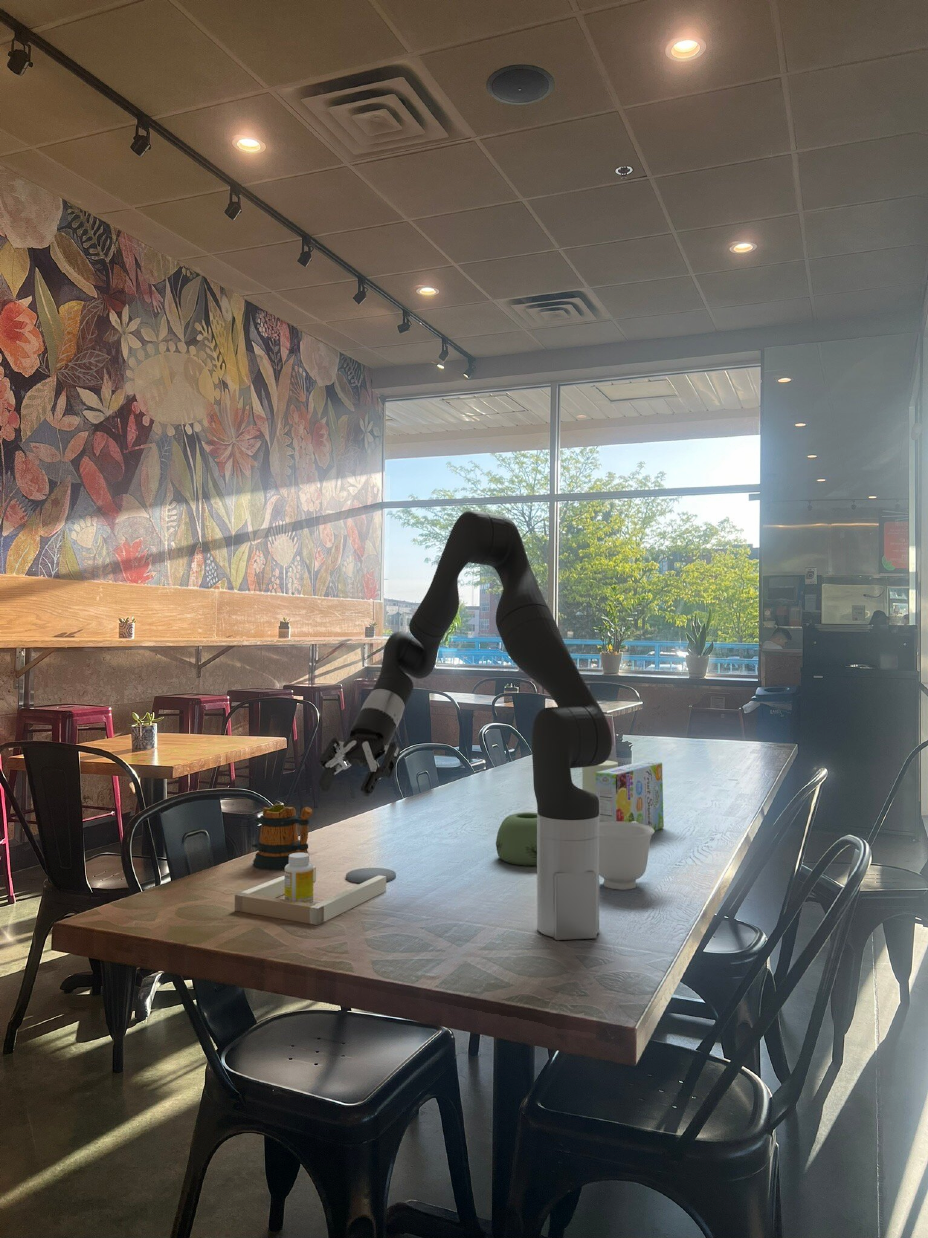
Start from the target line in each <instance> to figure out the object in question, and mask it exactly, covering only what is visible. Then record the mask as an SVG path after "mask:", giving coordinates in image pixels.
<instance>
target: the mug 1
mask: <svg viewBox="0 0 928 1238" xmlns="http://www.w3.org/2000/svg"><path fill="white" fill-rule="evenodd" d="M311 815H313V809H312V808H311V807H309V806H305V807H303V808H302V810H301V813H300V816H299V815H297V814H296V808H295V807H293V806H285V804H281V803H276V804H273V805H272V807H268V806H267V807H265V806H264V807H263V810H262V814H261V815H260V816H259V817H257V818H254V819H253V821H254V822H258V824H260V833H259V840H258V842H257V843H254V844H251V847H253V848H256V850H257V852H256V853H255V856H254V857H255V858H254V859H253V861H252V864H253V867H254V868H255V869H258V870H263V871H285V866H286V865H287V864H289V855H290V854H293V853H308V854H309V855H310V853H309V851H308V849H309V843H307V842H308V837H309V825H310V819H309V817H311ZM298 824H299V825H300V833H298Z"/></svg>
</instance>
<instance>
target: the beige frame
mask: <svg viewBox="0 0 928 1238" xmlns="http://www.w3.org/2000/svg"><path fill="white" fill-rule="evenodd" d="M316 881H317V866H315V865H313V883H314V882H316ZM385 892H387V882H386V876H380V875H378V876H376V877H374V878H372V879H370V880H367V881H365V882H363V883H361V884H360V883H358V884H357V885H355V886H353V887H350V888H348V889H346V890H344V891H342V892H340V893H337V894H335V895H333V896H330V897H329V898H326V899H325V900H322V901H319V902H318V903H316V904H315V903H313V904H310V903H304V902H297V901H291V900H285V898H279V897H280V896H281V897H282V896H283V895H285V874H284V875H282V876H279V877H276V878H274V879H272V880H269V881H266V882H264V883H261V884H259V885H256V886H254V887H251V888H249V889H245V890H243V891H240V892H238V893H236V894H234V911H235V912H241V913H247V914H252V915H257V916H262V917H263V916H264V917H269V918H274V919H275V918H276V919H280V920H281V919H282V920H287V921H292V922H297V923H298V922H299V923H302V924H303V923H304V924H308V925H309V924H310V925H316V926H319V925H321V924H323V923H325V922H327V921H330V920H331V919H333V918H335V917H336V916H339V915H341V914H343V913H345V912H347V911H349V910H351V909H352V908H355V907H357V906H359V905H361V904H363V903H365V902H367V901H369V900H371V899H373V898H375V897H377V896H379V895H381V894H383V893H385Z"/></svg>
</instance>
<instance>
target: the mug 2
mask: <svg viewBox="0 0 928 1238" xmlns="http://www.w3.org/2000/svg"><path fill="white" fill-rule="evenodd" d="M495 847H496V852H497V856H498V857H499V859H501V860H502V861H504V862H506V863H508V864H512V865H517V866H526V867H527V866H529V867H530V866H531V867H532V866H537V812H527V811H526V812H518V813H514V814H513V813H512V814H509V815H508V816H506V817H505V818H504V819H503V820H502V821H501V824H500V826H499V827H498V831H497V835H496V839H495Z"/></svg>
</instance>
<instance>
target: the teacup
mask: <svg viewBox="0 0 928 1238" xmlns="http://www.w3.org/2000/svg"><path fill="white" fill-rule="evenodd" d="M655 832H656V830H655V831H654V829H653V828H652V827H650V826H647V825H644V824H639V823H638V822H635V821H633V822H621V821H607V822H599V877H601V878H602V879H603V883H602V884H603V886H604V887H606V888H608V889H611V890H621V891H628V890H632V889H635V888H637V880H639V879H640V878H642V877H643V875H645V873H646V869H647V865H648V859H649V851H650V844H651V839H652V836H653V834H655Z"/></svg>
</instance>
